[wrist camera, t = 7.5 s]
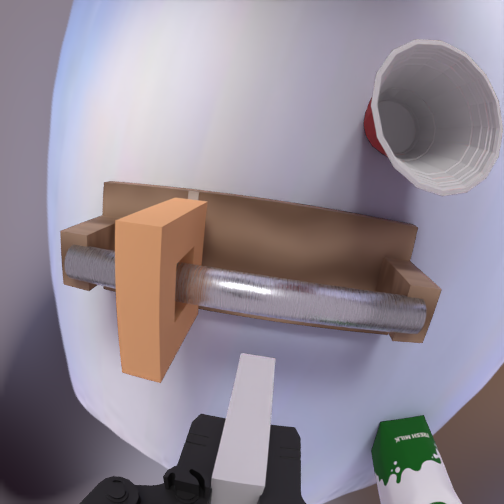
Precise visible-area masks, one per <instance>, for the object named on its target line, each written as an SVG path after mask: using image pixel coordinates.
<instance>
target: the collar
mask: <svg viewBox="0 0 504 504" xmlns="http://www.w3.org/2000/svg"><path fill="white" fill-rule="evenodd" d="M206 211H207V201H200V200H192V199H183V198H173V199H170V200H167V201H164V202H162V203H159V204H156V205H154V206H151V207H148V208H146V209H143V210H141V211H138V212H135V213H133V214H130V215H128V216H125V217H123V218H120V219H118V220H115V284H116V306H117V322H118V335H119V346H120V356H121V366H122V372H123V373H126V374H129V375H133V376H136V377H140V378H144V379H147V380H151V381H155V382H159V383H161V381H162V380H163V378H164V376H165V374H166V372H167V370H168V368H169V366H170V365H171V363H172V361H173V359H174V357H175V355H176V353H177V352H178V350H179V348H180V346H181V344H182V342H183V340H184V339H185V337H186V335H187V333H188V331H189V329H190V328H191V326H192V324H193V322H194V320H195V318H196V317H197V315H198V305H193V304H188V303H182V302H177V301H175V288H176V267H177V263H178V262H182V263H188V264H194V265H201V266H202V254H203V242H204V232H205V221H206Z"/></svg>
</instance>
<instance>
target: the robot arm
mask: <svg viewBox="0 0 504 504" xmlns="http://www.w3.org/2000/svg"><path fill="white" fill-rule="evenodd" d="M274 371H275V358H270V357H264V356H257V355H251V354H244V353H241V356H240V360H239V364H238V369H237V373H236V377H235V382H234V386H233V390H232V395H231V399H230V403H229V407H228V412H227V416H226V419H225V418H220V417H215V416H210V415H205V414H200V415H199V416H198V417H197V418H196V419H195V420H194V421H193V422H192V424H191V427H190V430H189V433H188V436H187V439H186V442H185V444H184V447H183V450H182V453H181V456H180V459H179V462H178V464H177V466H174V467H172V468H171V469H169V470H167V472H166V473H165V475H164V476H163V478H164V483H163V484H160V485H153V486H147V485H134V484H133V483H132V482H131V481H130V480H128V479H125V478H123V477H114V476H113V477H109V478H106V479H104V480H103V481H101V482H100V483H99V484H98V485H97V486H96V487H95V488H94V489H93V490H92V492H90V493H89V494H88V495H87V496H86V497H85V498H84V500H83V501H82V502H81V503H80V504H306V503H305V502H304V500H303V498H302V496H301V460H300V458H301V451H300V449H301V443H300V436H299V434H298V432H297V431H296V429H295V427H286V426H277V425H270V424H271V412H272V399H273V385H274Z"/></svg>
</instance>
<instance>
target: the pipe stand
mask: <svg viewBox="0 0 504 504" xmlns="http://www.w3.org/2000/svg"><path fill="white" fill-rule="evenodd" d="M173 198H183V199H192V200H200V201H207V211H206V221H205V232H204V242H203V254H202V266H207V267H213V268H219V269H225V270H232V271H238V272H244V273H251V274H257V275H264V276H270V277H277V278H284V279H290V280H297V281H304V282H311V283H318V284H325V285H332V286H339V287H346V288H353V289H360V290H368V291H375V292H383V293H390V294H398V295H405V296H407V297H412V298H420V299H423V300H424V301H425V304H426V319H425V323H424V326H423V328H422V330H421V331H420V332H419V333H418V334H407V333H396V332H385V331H375V330H365V329H355V328H347V327H338V326H330V325H321V324H314V323H306V322H299V321H291V320H284V319H277V318H271V317H264V316H257V315H251V314H245V313H239V312H233V311H227V310H221V309H215V308H209V307H204V306H198V309H203V310H208V311H214V312H220V313H225V314H231V315H237V316H243V317H250V318H256V319H263V320H269V321H276V322H283V323H290V324H297V325H305V326H312V327H320V328H328V329H337V330H345V331H355V332H364V333H374V334H385V335H388V333H389V335H390V337H391V339H392V341H401V342H414V343H423V340H424V338H425V335H426V333H427V330H428V327H429V325H430V322H431V319H432V316H433V314H434V311H435V308H436V305H437V302H438V299H439V296H440V293H441V290H442V289H441V288H440V287H438V286H437V285H436V284H435V283H434V282H433V281H432V280H431V279H430V278H429V277H427V276H426V275H425V274H424V273H423V272H422V271H421V270H420V269H418V268H417V267H416V266H415V265H414V264H413V263H412V262H410V259H411V255H412V251H413V247H414V243H415V239H416V234H417V230H418V227H416V226H415V225H413V224H408V223H403V222H398V221H393V220H388V219H383V218H378V217H373V216H367V215H362V214H357V213H351V212H345V211H340V210H334V209H328V208H322V207H316V206H310V205H304V204H298V203H291V202H285V201H278V200H271V199H265V198H258V197H250V196H243V195H236V194H228V193H220V192H212V191H204V190H195V189H186V188H177V187H168V186H158V185H148V184H137V183H126V182H114V181H109V182H104V191H103V215H102V216H99V217H96V218H94V219H91V220H88V221H85V222H83V223H80V224H77V225H75V226H72V227H69V228H67V229H64V230H62V231H60V233H61V256H62V270H63V282H64V285H68V286H72V287H76V288H80V289H84V290H87V291H90V290H91V289H93V288H94V287H95V286H97V284H93V283H89V282H85V281H81V280H76V279H72V278H69V277H68V276H67V274H66V272H65V266H64V263H65V257H66V254H67V251H68V249H69V248H70V247H71V246H72V245H79V246H84V247H89V246H90V247H96V248H101V249H107V250H113V251H115V220H118V219H120V218H123V217H125V216H128V215H130V214H133V213H135V212H138V211H141V210H143V209H146V208H148V207H151V206H154V205H156V204H159V203H162V202H164V201H167V200H170V199H173ZM104 289H106V290H110V291H115V292H116V289H115V288H110V287H106V286H104Z"/></svg>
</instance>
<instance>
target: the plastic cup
mask: <svg viewBox="0 0 504 504" xmlns="http://www.w3.org/2000/svg"><path fill="white" fill-rule="evenodd" d="M364 128H365V133H366V136H367V138H368V140H369V141H370V143H371V144H372V146H373V147H374V148H375V149H377V150H378V151H379V152H381V153H382V154H384V155H385V156H387V157H388V158H389V159H390V161H391V163H392V165H393V167H394V168H395V169H396V170H397V171H399V172H400V173H401V174H402V175H403V176H404V177H405V178H407V179H408V180H409V181H410V182H411V183H412V184H413V185H415V186H416V187H417V188H419V189H422V190H425V191H428V192H432V193H435V194H438V195H441V196H447V195H453V194H460V193H467V192H468V191H469V190H471V189H472V188H474V187H475V186H476V185H478V184H479V183H480V182H482V181H483V180H484V179H486V177H487V176H488V174H489V172H490V171H491V169H492V167H493V165H494V164H495V162H496V160H497V158H498V157H499V151H500V146H501V140H502V133H503V125H502V118H501V111H500V105H499V100H498V98H497V96H496V94H495V92H494V90H493V87H492V85H491V83H490V81H489V79H488V77H487V75H486V74H485V73H484V72H483V70H482V69H481V68H480V67H479V66H478V65H477V64H476V63H475V62H474V61H473V60H472V59H471V58H470V57H469V56H468V55H467V54H466V53H465V52H463V51H461V50H459V49H457V48H455V47H453V46H451V45H449V44H447V43H445V42H443V41H440V40H421V39H415V40H413V41H411V42H408V43H406V44H404V45H402V46H400V47H398V48H396V49H394V50H392V51H391V53H390V54H389V56H388V57H387V59H386V60H385V61H384V63H383V64H382V66H381V67H380V69H379V70H378V72H377V73H376V77H375V84H374V90H373V96H372V98H371V100H370V102H369V104H368V107H367V110H366V112H365V118H364Z"/></svg>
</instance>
